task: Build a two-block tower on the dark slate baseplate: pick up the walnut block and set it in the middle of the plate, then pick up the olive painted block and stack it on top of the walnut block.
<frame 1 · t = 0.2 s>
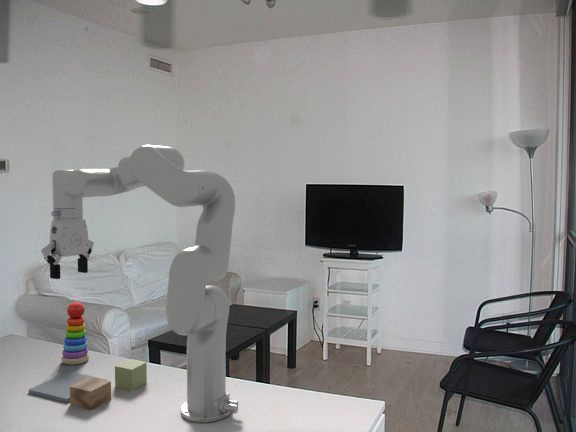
hand: (69, 275, 145), 31 cm above the table, tool pointing down, fingers open, 9 cm apart
stacking toy: (75, 361, 163), on the table
walnut block: (91, 402, 134), on the table
baseplate: (68, 387, 143), on the table
olive block: (131, 385, 145), on the table
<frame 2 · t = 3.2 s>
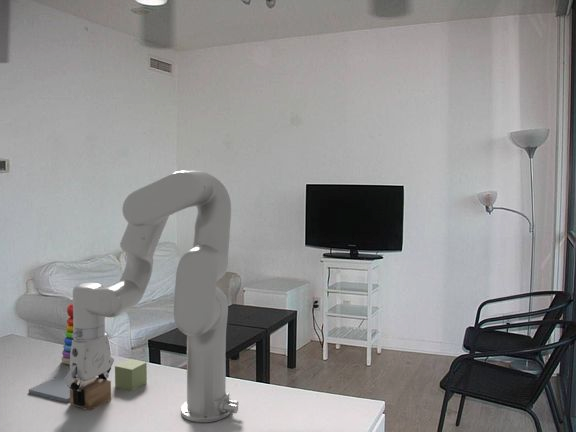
hand: (90, 398, 134), 1 cm above the table, tool pointing down, fingers closed on walnut block, 7 cm apart
walnut block: (90, 402, 134), on the table, touching gripper
everything else where it was.
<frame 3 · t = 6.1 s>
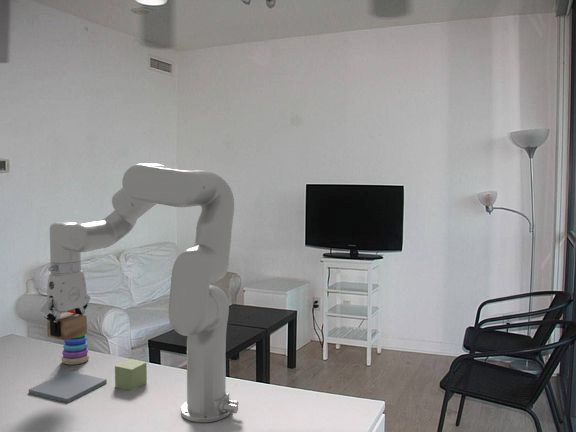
hand: (67, 331, 141), 16 cm above the table, tool pointing down, fingers closed on walnut block, 7 cm apart
walnut block: (67, 334, 141), point 15 cm above the table, touching gripper
everything else where it was.
when the fingers open (3 cm above the table, at t = 9.0 s): walnut block drops 1 cm, resting on baseplate.
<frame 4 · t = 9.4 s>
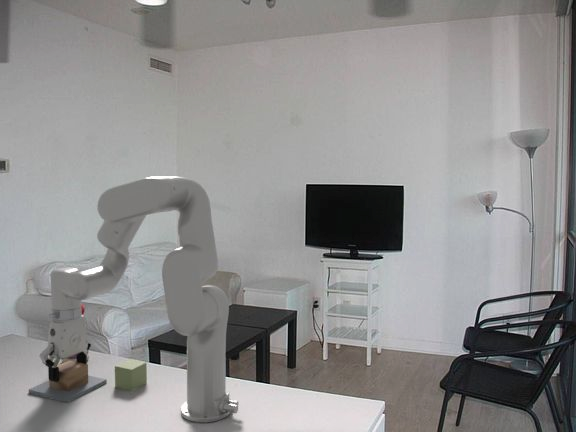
hand: (68, 374, 142), 4 cm above the table, tool pointing down, fingers open, 9 cm apart
walnut block: (69, 384, 143), point 1 cm above the table, touching baseplate
everything else where it was.
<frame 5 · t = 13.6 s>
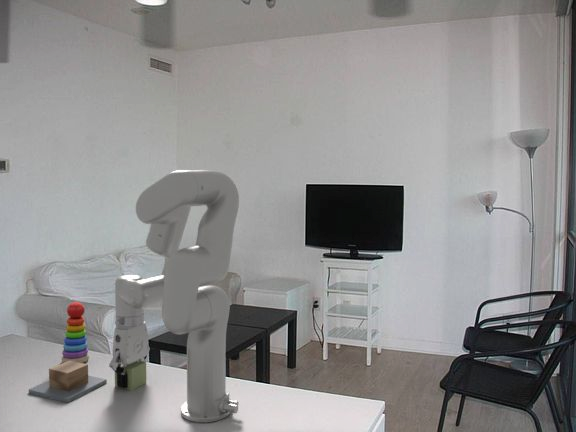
hand: (130, 382, 145), 1 cm above the table, tool pointing down, fingers closed on olive block, 6 cm apart
olive block: (130, 384, 145), on the table, touching gripper
everything else where it was.
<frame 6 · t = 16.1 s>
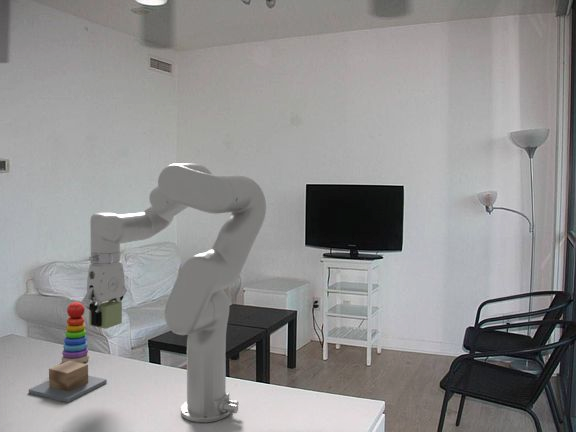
hand: (105, 321, 143), 18 cm above the table, tool pointing down, fingers closed on olive block, 6 cm apart
olive block: (105, 324, 143), point 17 cm above the table, touching gripper
everything else where it was.
when the fingers open (8 cm above the table, at t = 19.0 s): olive block drops 1 cm, resting on walnut block.
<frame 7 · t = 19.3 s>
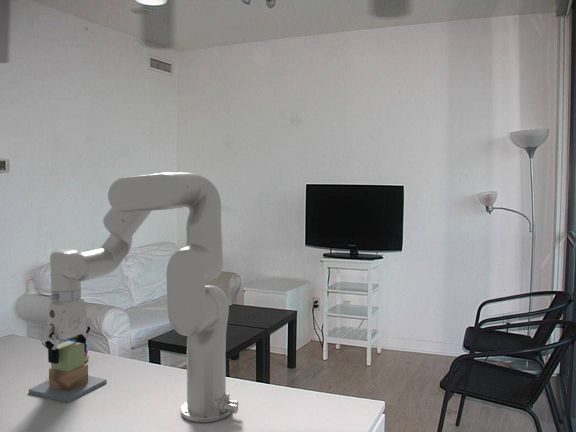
hand: (67, 357, 142), 9 cm above the table, tool pointing down, fingers open, 9 cm apart
walnut block: (69, 384, 143), point 1 cm above the table, touching baseplate, olive block
olive block: (68, 366, 142), point 6 cm above the table, touching walnut block
everything else where it was.
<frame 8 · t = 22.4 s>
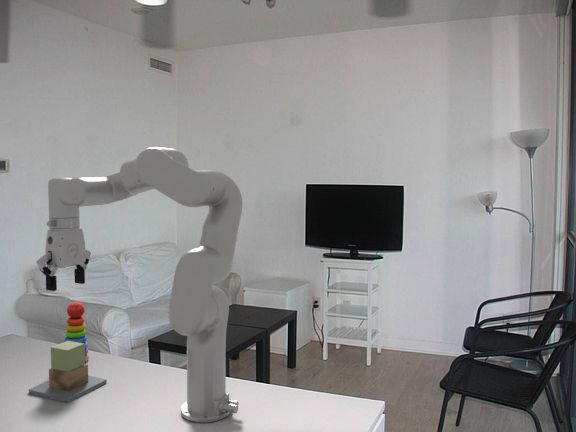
hand: (66, 286, 140), 28 cm above the table, tool pointing down, fingers open, 9 cm apart
nothing on the table moved.
at the end: walnut block 0.1 cm off-centre on the baseplate, point 1.0 cm above the baseplate's base; olive block 0.1 cm off-centre on the walnut block, point 5.0 cm above the walnut block's base; olive block tilted 0° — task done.
